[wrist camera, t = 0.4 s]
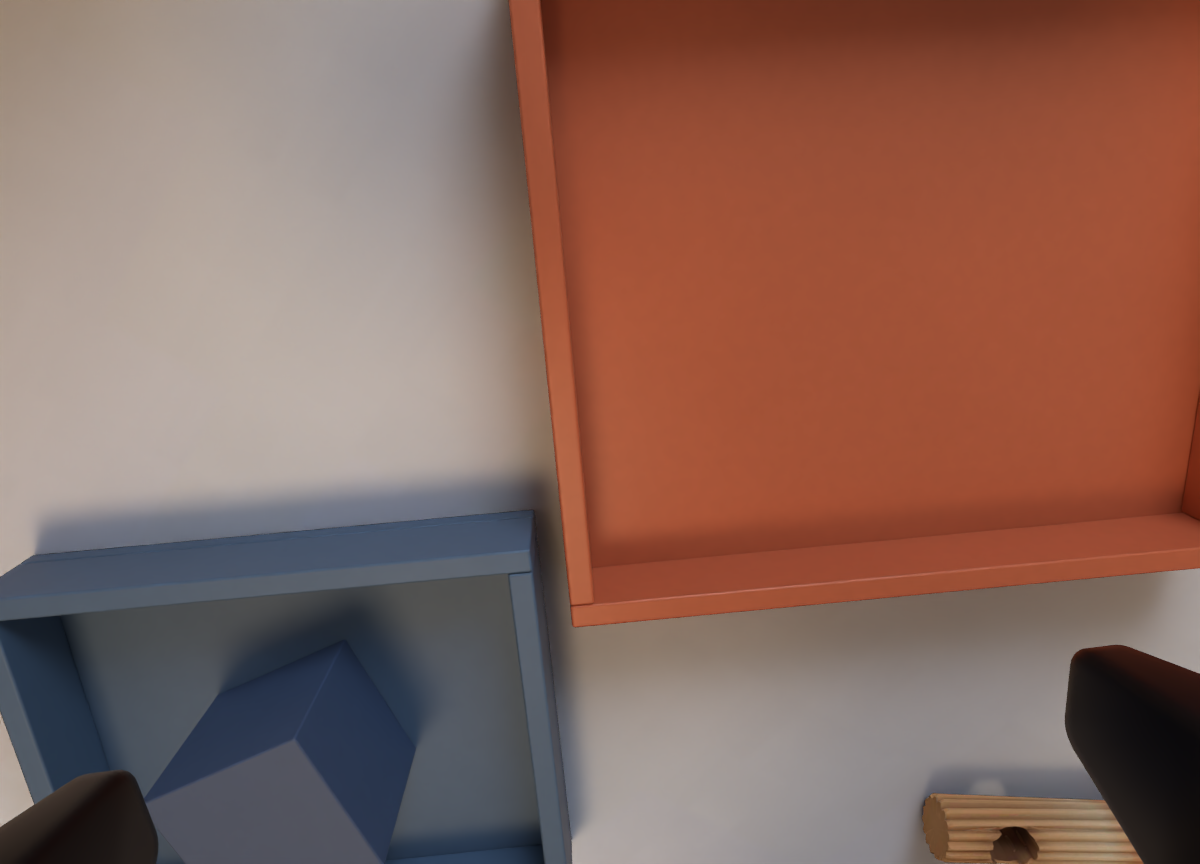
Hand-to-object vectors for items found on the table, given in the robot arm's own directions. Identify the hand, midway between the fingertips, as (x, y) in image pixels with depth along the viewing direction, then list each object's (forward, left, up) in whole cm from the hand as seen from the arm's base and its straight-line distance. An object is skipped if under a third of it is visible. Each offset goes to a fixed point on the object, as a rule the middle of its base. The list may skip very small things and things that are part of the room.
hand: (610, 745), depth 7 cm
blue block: (-8, +8, -12) cm, 17 cm away
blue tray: (-8, +8, -13) cm, 17 cm away
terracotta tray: (+3, -8, -13) cm, 15 cm away
